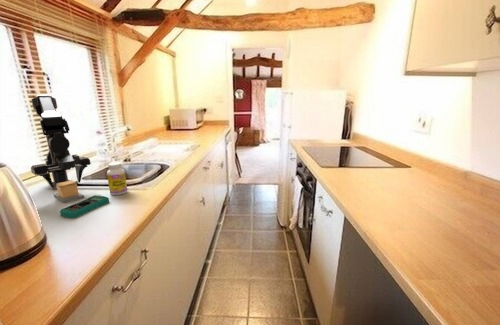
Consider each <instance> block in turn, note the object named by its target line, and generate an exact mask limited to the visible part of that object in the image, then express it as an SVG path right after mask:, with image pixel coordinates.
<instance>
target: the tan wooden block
mask: <svg viewBox="0 0 500 325" xmlns="http://www.w3.org/2000/svg"><path fill="white" fill-rule="evenodd" d="M68 180H69V181H65V182H61V183H56V185H55V187H56V193H58V195H59V196H60V197H62V198H65V197H69V196H73V195H76V194H79V193H80V192H79V189H78V182H77V181H74V180H72V179H68ZM78 192H79V193H78Z"/></svg>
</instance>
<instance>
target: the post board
mask: <svg viewBox="0 0 500 325" xmlns="http://www.w3.org/2000/svg"><path fill="white" fill-rule="evenodd" d="M78 193H79V194H76V195H73V196H69V197H65V198H62V197H60V196H59V195H58V192H56V193H53V196H54V197H55V198H56V199H58V200H59V201H60V202H62V203H63V204H64V203H68V202H73V201H75V200H79V199H82V198H84V197H85V196H84V194H83V193H82V192H81V193H80V192H79V191H78Z"/></svg>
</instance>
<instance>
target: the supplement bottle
mask: <svg viewBox="0 0 500 325" xmlns="http://www.w3.org/2000/svg"><path fill="white" fill-rule="evenodd" d="M106 177H107V182H108V188H109V193H110V195H112V196H121V195H124V194H126V193H127V192H128V186H127V178H126V172H125V169H124V168H122V163H121V162H118V161H117V162H116V161H115V162H110V163H108V170H107V171H106Z"/></svg>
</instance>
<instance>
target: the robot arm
mask: <svg viewBox="0 0 500 325" xmlns="http://www.w3.org/2000/svg"><path fill="white" fill-rule="evenodd" d="M31 104H32V109H33V110H35V112H36V115H38V117H40V118H41V119H39V124H40V128H41V131H42V134H43V136H45V137H46V141H47V148H48V152H47V155H46V160H45V164H44V163H40V164H33V165H31V167H30V170H31V171H30V172H31V174H34V175H35V176H38V177H39V176H40V177H42V178H43V179H44V180H45V181H46V182H47V184H48V185H49V187H50V189H52V190H54V189H55V187H54V186H56V183H61V182H65V181H69V180H70V179H69V177H68V173H67V172H68V171H70V170H71V169H74V168H75V173H76V180H77V183H79V184H80V183H81V181H82V176H83V172H84V170H85V169H86V168H87V167H88V166H90V165H91V159H90V158H89V157H85V156H82V157H81V156H80V155H79V153H76V154H72V155H71V153H70V151H69V148H70V145H71V143H70V141H69V139H68V138H67V137H66V135H65V134H70V133H69V132H70V126H69V124H68V121H67V120H66V118H64V117H63V116H62V114H61V113H60V112H57V110H56V109H58V104H57V99H56V98H55V97H52V95H50V94H37V95H36V97H33V98H32V99H31ZM51 175H52V177H51Z"/></svg>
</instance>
